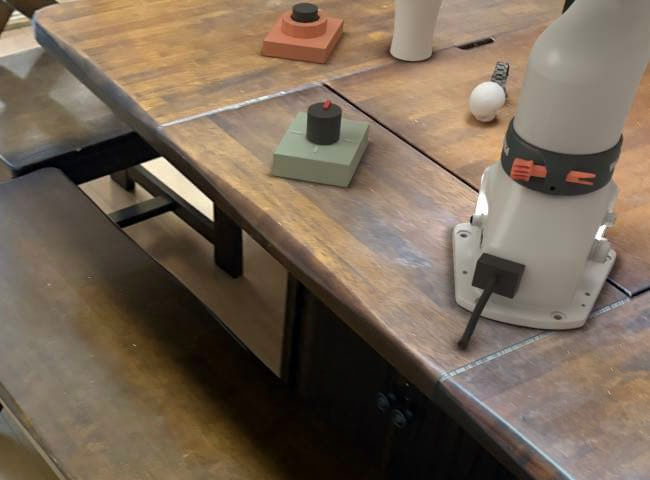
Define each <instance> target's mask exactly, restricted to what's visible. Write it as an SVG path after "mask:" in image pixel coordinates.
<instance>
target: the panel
mask: <svg viewBox="0 0 650 480" xmlns="http://www.w3.org/2000/svg"><path fill="white" fill-rule="evenodd" d="M370 127H371V122H370V121H363V120H358V119H357V120H355V119H350V118H342V117H341V129H340V138H339V140H338V141H337V142H335V143H333V144H329V145H319V144H314V143H312V142H310V141H309V140H308V139H307V138H306V129H307V112H301V111H298V112H297V113H296V115H295V116H294V118H293V120H292V121H291V123H290V125H289V126H288V128H287V130H286V131H285V133H284V135H283V136H282V138H281V140H280V141H279V143H278V145H277V146H276V148H275V150H274V152H273V155H272V176H273V177H278V178H279V177H280V178H286V179H292V180H298V181H304V182H312V183H317V184H324V185H328V186H335V187H341V188H348V187H349V185H350V183H351V181H352V178H353V176H354V174H355V172H356V170H357V168H358V165H359V164H360V161H361V160H362V157H363V155H364V153H365V151H366V149H367V147H368V144H369V138H370Z"/></svg>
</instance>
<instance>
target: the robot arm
mask: <svg viewBox="0 0 650 480" xmlns="http://www.w3.org/2000/svg"><path fill="white" fill-rule="evenodd" d="M649 62H650V0H575V1H574V3H573V4H572V5H571V6H570V7H569V8H568V10H567V11H566V12H565V13H564V14H562V13H561V15H560V16H559V17H558V18H557V19H555V20H554V21H552V23H551V24H549V25H548V26H547V27H546V28H545V29H544V30H543V31H541V34H539V36H538V37H537V38H536V40H535V42H534V44H533V46H532V48H531V50H530V53H529V56H528V60H527V64H526V67H525V72H524V75H523V79H522V84H521V87H520V88H521V89H520V93H519V98H518V101H517V105H516V110H515V113H514V116H513V117H511V119H510V120H509V122H508V126H507V129H506V131H505V133H504V137H503V142H502V144H503V145H502V148H501V149H502V150H501V153H500V158H499V159H497V160H496V161H495V162H493V163H492V164H490V165H489V166H487V167H486V168H485V169H484V171H483V173H482V178H481V181H480V182H481V183H480V187H479V191H478V195H477V199H476V204H475V207H474V212H473V213H472V214H471V216H470V219H469V221H465V222H461V223H458V224H456V225H455V226H454V227H453V230H452V233H451V245H452V247H451V248H452V263H453V265H452V266H453V279H454V280H453V281H454V296H455V301H456V304H457V305H458V306H460V307H461V308H462V309H463V308H464V309H465V310H467V311H469V312H471V315H470V317H469V320H468V322H467V324H466V327H465V329H464V331H463V334H462V336H461V338H460V339H459V340H458V341H457V346H458V348H461V349H464V348H466V347H467V345H468V344H469V343H470V341H471V338H472V336H473V334H474V331H475V330H476V327H477V325H478V322H479V320H480V317H483V318H486V319H490V320H494V321H496V322H500V323H505V324H511V325H515V326H521V327H527V328H534V329H542V330H570V329H571V330H572V329H577V328H581V327H583V326H584V325H585V324H586V323H587V320H588V318H589V317H590V314H591V312H592V310H593V308H594V306H595V304H596V302H597V300H598V298H599V295H601V292H602V290H603V287H604V286H605V284H606V281H607V279H608V277H609V276H610V273H611V272H612V269H613V266H614V265H615V262H616V258H617V253H616V251H615V250H614V249H613V248H612V245H613V243H612V242H611V241H609V238H606V237H604V236H605V233H606V231H607V228H613V227H614V225H615V222H616V220H617V217H618V214H616V213H614V212H613V210H614V207H615V205H616V202H617V199H618V196H619V193H620V190H621V189H620V188H619V187H618V185H617V184H616V182H615V181H614V179H613V176H614V172H615V169H616V166H617V164H618V162H619V159H620V157H621V153H622V146H623V142H624V134H623V130H624V127H625V125H626V122H627V119H628V116H629V115H630V111H631V108H632V105H633V103H634V100H635V97H636V94H637V91H638V90H639V87H640V85H641V81H642V79H643V76H644V74H645V72H646V69H647V67H648V64H649Z"/></svg>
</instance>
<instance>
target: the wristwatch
mask: <svg viewBox="0 0 650 480" xmlns="http://www.w3.org/2000/svg"><path fill="white" fill-rule="evenodd" d="M510 67H511V66H510V62H505V61H500V60H498V61H497V62H496V64H495V67H494V69H493V73H492V75H491V78H490V81H489V82H495V83H497V84H499V85H500V86H501V87H502V88H503V90H504V92H505V99H506V98H508V93H507V79H508V77H509V75H510V73H509V71H510Z"/></svg>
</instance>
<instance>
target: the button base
mask: <svg viewBox="0 0 650 480" xmlns="http://www.w3.org/2000/svg"><path fill="white" fill-rule="evenodd" d="M344 22H345V19H344V18H338V17H329V16H327V14H325V12H322V11H321V10H318V20H317V21H315V22H313V23H299V22H296V21H293V20H292V9H291V10H288V11H283V13H282V15H280V17H279V19H278V20H277V21H276V23H275V24H274V25H273V27H272V28H271V29H270V31H269V32H268V34H266V36H265V38H264V39H263V40H262V56H265V57H271V58H272V57H273V58H279V59H287V60H294V61H302V62H310V63H317V64H325V63H326V62H327V61H328V58H329V57H330V55H331V54H332V52H333V51H334V49H335V47H336V46H337V44H338V42H339V40H340V39H341V38H342V35H343V33H344Z"/></svg>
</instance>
